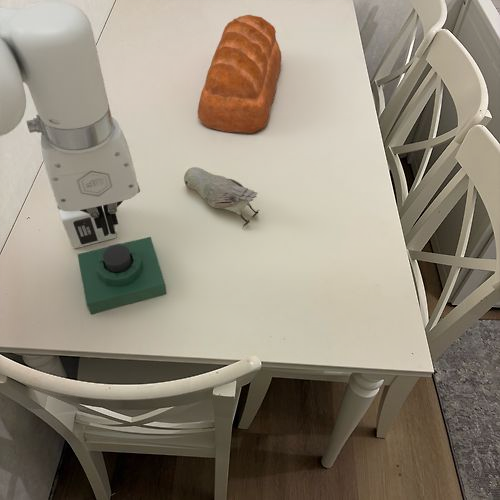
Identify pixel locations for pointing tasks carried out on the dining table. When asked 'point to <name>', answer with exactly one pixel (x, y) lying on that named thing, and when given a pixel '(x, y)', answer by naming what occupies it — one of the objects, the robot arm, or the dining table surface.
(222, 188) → the decorative bird
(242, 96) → the bread
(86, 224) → the container
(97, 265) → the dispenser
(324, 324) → the dining table surface
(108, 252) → the dark grey push button
